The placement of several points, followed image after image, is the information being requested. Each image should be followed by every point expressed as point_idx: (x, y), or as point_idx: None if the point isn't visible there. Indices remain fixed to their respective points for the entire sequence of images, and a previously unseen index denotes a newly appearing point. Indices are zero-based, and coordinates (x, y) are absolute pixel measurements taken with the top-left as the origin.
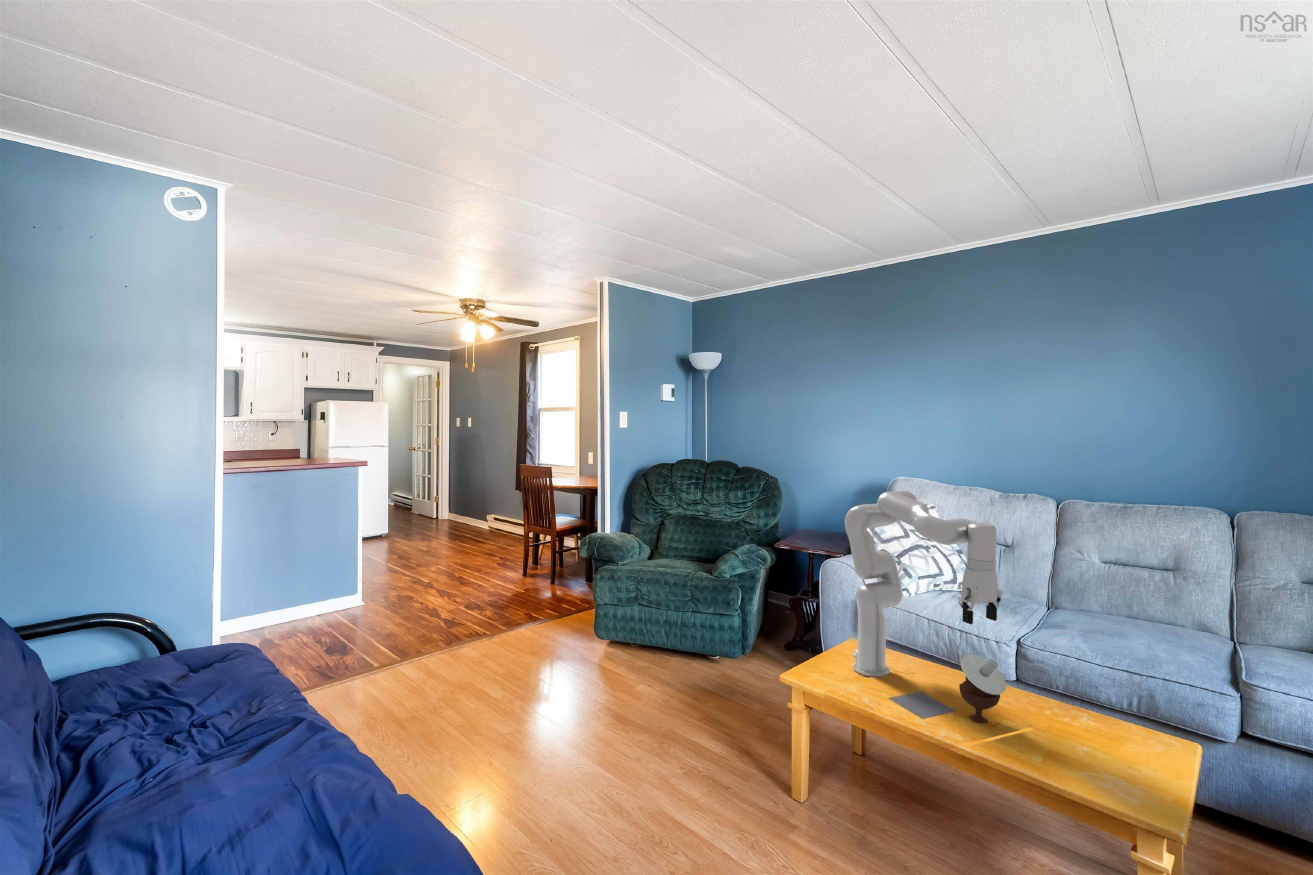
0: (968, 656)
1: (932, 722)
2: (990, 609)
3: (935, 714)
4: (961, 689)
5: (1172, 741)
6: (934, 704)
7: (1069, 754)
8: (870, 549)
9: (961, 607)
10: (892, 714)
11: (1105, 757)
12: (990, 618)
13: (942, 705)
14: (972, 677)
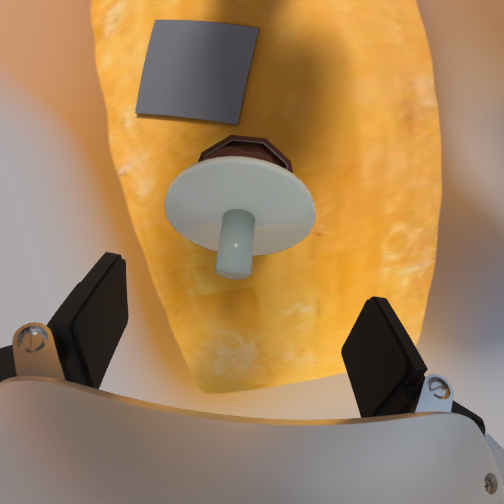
0: (240, 170)
1: (148, 127)
2: (376, 381)
3: (177, 112)
4: (199, 160)
5: None
6: (221, 81)
7: (265, 307)
8: None
9: (22, 330)
10: (108, 72)
11: (301, 330)
12: (354, 330)
13: (233, 92)
14: (176, 215)
